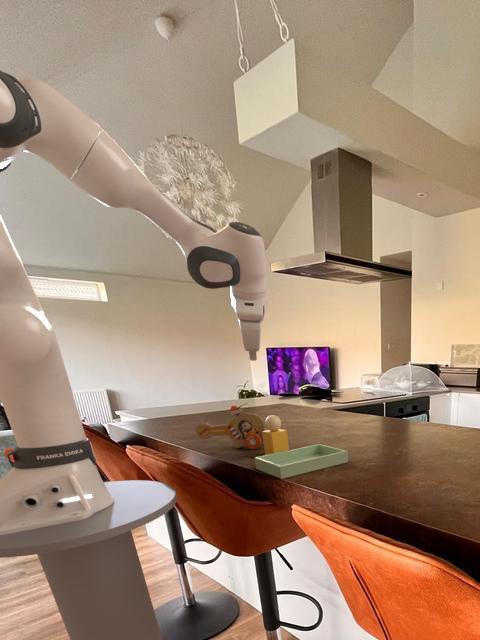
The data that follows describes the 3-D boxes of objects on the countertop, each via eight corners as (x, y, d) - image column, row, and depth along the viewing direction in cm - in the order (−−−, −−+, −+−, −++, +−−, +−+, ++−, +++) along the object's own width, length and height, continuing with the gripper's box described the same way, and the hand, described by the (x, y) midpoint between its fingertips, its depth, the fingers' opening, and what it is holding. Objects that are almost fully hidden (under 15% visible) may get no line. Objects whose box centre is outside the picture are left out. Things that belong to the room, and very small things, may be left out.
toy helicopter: (265, 449, 129) (258, 403, 124) (196, 453, 128) (186, 407, 123) (269, 443, 137) (263, 400, 132) (204, 447, 136) (196, 403, 131)
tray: (281, 478, 99) (279, 466, 98) (256, 468, 108) (254, 457, 107) (348, 462, 111) (347, 450, 110) (320, 454, 120) (319, 443, 119)
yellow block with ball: (274, 458, 118) (269, 417, 114) (265, 455, 121) (259, 415, 117) (289, 454, 121) (284, 414, 117) (280, 452, 125) (274, 413, 121)
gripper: (237, 282, 113) (241, 332, 123) (235, 315, 100) (240, 369, 110) (261, 284, 114) (264, 333, 124) (263, 317, 101) (265, 370, 111)
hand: (253, 350), depth 117 cm, fingers open, 8 cm apart
